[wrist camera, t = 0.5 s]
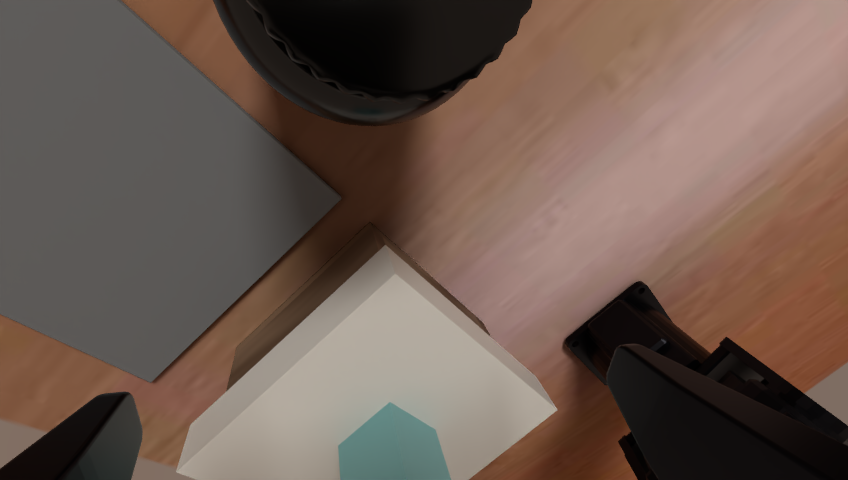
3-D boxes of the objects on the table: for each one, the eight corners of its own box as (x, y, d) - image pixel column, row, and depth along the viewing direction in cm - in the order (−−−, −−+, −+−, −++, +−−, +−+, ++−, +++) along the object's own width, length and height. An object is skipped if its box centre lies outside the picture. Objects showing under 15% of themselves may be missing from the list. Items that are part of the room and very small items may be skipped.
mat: (340, 196, 20) (341, 199, 19) (153, 377, 22) (150, 382, 21) (16, -94, 13) (7, -97, 13) (-216, 206, 15) (-228, 210, 15)
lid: (535, 376, 22) (610, 490, 16) (377, 504, 23) (397, 646, 18) (385, 244, 16) (422, 352, 11) (190, 424, 18) (137, 597, 12)
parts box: (482, 322, 25) (526, 397, 20) (367, 420, 27) (381, 513, 22) (370, 222, 21) (389, 285, 15) (236, 347, 22) (213, 444, 17)
